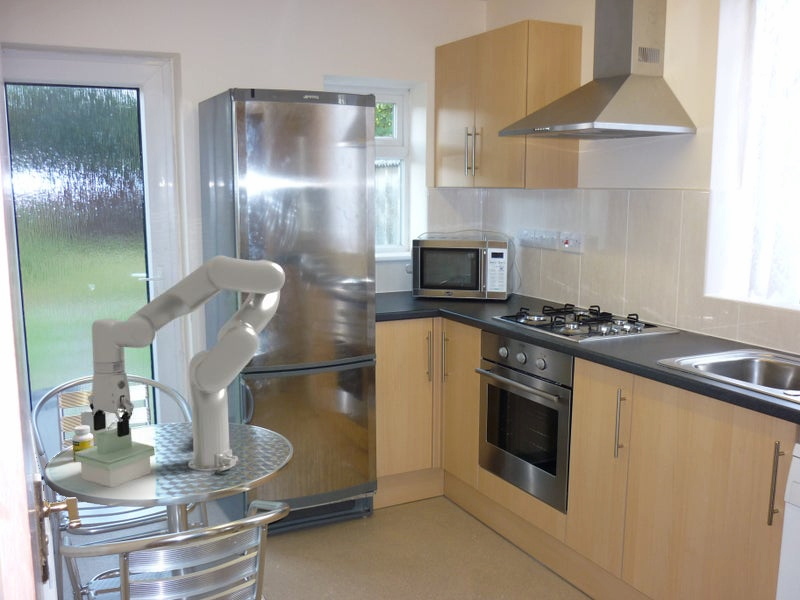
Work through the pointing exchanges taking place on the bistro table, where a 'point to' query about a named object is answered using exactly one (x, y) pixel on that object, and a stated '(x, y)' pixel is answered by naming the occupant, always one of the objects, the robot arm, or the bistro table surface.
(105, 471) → the storage box
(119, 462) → the lid
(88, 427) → the supplement bottle
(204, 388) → the robot arm
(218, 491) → the bistro table surface
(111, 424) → the supplement box
